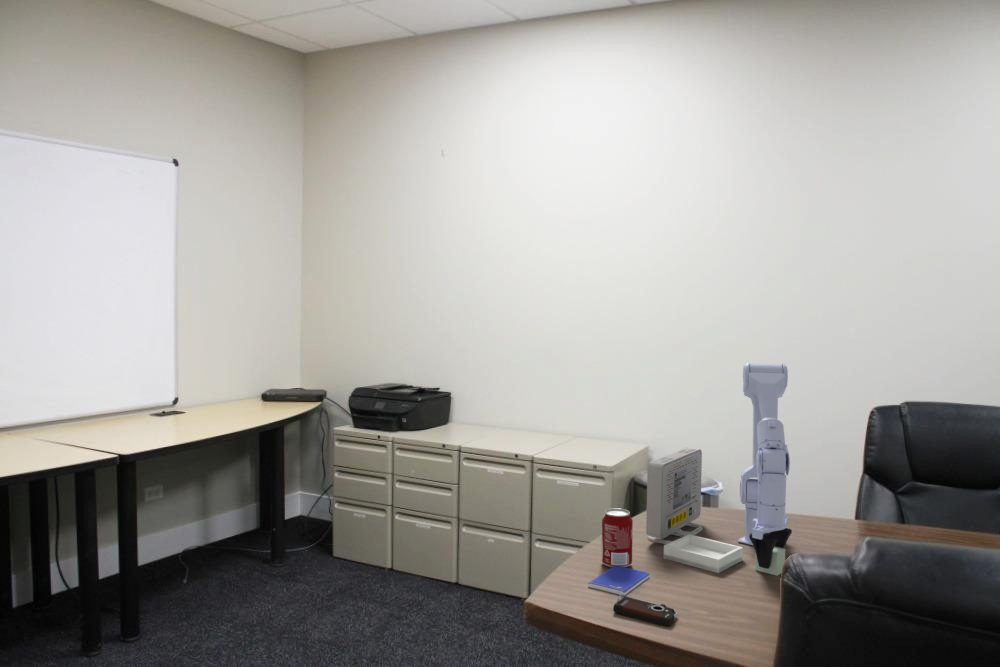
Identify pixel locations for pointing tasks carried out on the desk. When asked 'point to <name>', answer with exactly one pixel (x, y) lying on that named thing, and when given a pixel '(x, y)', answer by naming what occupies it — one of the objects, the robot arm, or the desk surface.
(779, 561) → the sage block
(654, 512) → the network device
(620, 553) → the soda can
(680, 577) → the desk surface
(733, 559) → the desk bin
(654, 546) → the desk surface
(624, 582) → the hard drive
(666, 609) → the camera
